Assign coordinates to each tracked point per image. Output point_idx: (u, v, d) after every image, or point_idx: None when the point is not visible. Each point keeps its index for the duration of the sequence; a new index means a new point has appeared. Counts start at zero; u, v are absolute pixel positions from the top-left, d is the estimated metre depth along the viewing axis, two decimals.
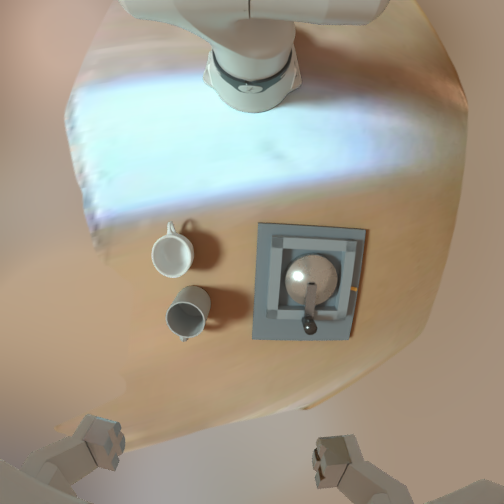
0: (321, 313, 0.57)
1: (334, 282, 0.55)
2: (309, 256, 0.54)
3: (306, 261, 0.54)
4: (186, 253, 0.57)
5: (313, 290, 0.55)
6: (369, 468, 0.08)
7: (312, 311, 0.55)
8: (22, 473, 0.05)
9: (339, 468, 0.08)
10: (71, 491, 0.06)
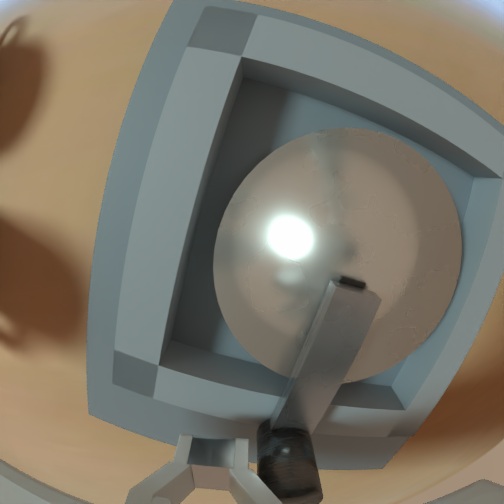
0: (345, 416, 0.12)
1: (442, 300, 0.10)
2: (372, 135, 0.09)
3: (353, 155, 0.09)
4: None
5: (356, 321, 0.09)
6: (250, 477, 0.08)
7: (317, 413, 0.10)
8: (22, 473, 0.05)
9: (222, 471, 0.08)
10: None
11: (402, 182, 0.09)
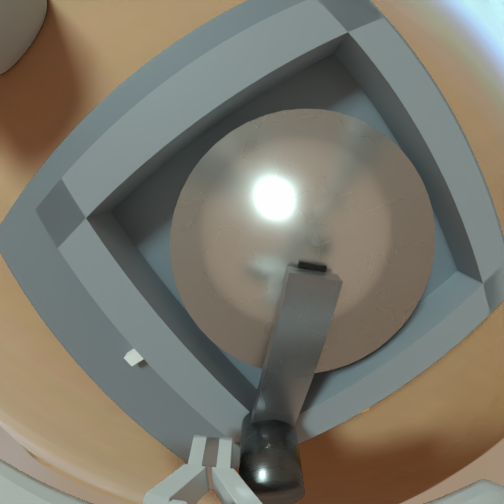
0: (212, 392, 0.12)
1: (419, 277, 0.10)
2: (313, 113, 0.09)
3: (295, 137, 0.09)
4: None
5: (317, 306, 0.09)
6: (232, 477, 0.08)
7: (295, 404, 0.10)
8: (22, 473, 0.05)
9: (205, 469, 0.08)
10: None
11: (353, 157, 0.09)
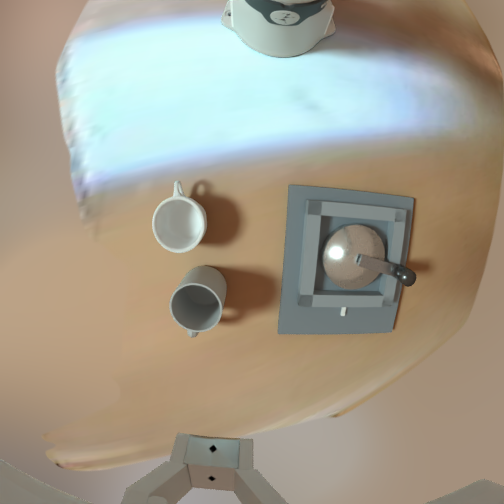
0: (364, 299, 0.44)
1: (365, 229, 0.42)
2: (325, 255, 0.43)
3: (330, 260, 0.43)
4: (196, 223, 0.45)
5: (366, 260, 0.42)
6: (255, 477, 0.08)
7: (390, 265, 0.42)
8: (22, 473, 0.05)
9: (226, 471, 0.08)
10: None
11: (335, 247, 0.43)
